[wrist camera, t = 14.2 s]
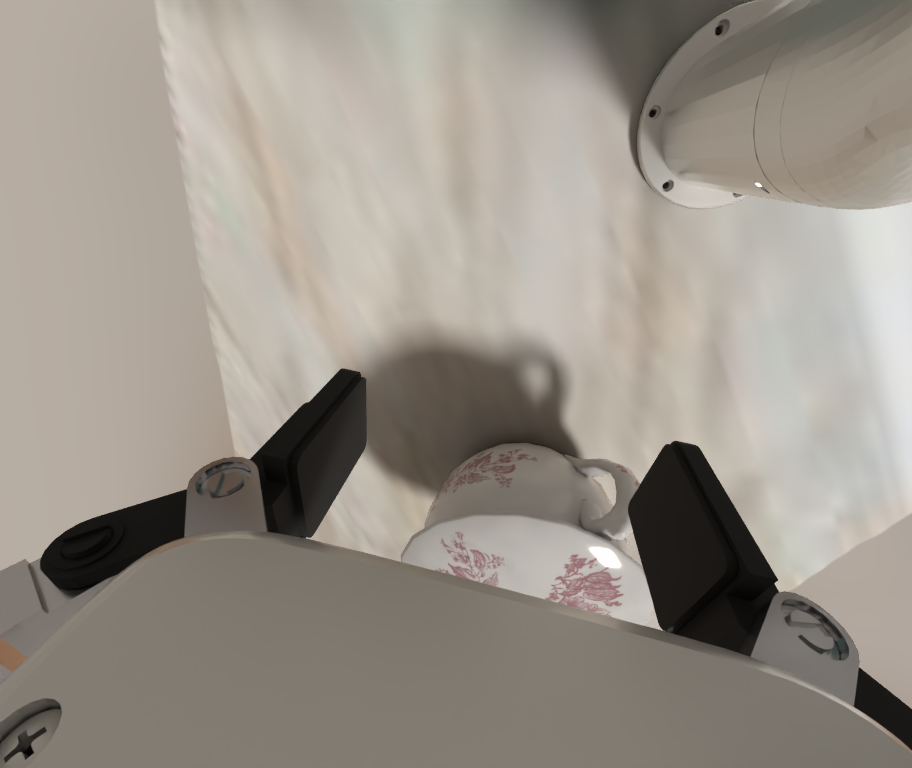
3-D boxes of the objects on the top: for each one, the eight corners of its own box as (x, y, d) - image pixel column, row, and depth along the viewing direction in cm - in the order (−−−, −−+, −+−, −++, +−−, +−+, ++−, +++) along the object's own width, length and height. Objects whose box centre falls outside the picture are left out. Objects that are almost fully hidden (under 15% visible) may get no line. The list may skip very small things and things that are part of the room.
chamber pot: (466, 542, 63) (439, 683, 46) (407, 424, 51) (340, 556, 34) (636, 536, 54) (682, 711, 37) (614, 389, 42) (667, 549, 24)
